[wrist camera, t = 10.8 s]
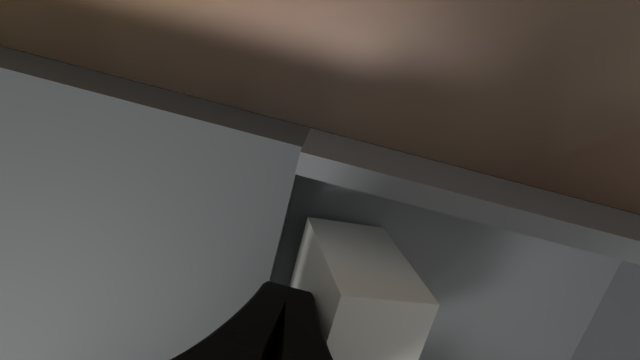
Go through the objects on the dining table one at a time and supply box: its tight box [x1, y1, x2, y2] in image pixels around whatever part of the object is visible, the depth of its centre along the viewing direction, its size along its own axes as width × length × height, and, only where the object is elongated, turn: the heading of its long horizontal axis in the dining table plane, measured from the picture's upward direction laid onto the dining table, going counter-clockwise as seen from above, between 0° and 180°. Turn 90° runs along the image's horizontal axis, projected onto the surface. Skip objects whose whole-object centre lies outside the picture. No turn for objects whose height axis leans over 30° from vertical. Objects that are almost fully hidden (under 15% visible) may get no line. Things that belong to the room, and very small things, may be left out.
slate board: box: [0, 46, 311, 360], centre depth 15 cm, size 16×12×2 cm
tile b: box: [289, 217, 440, 360], centre depth 13 cm, size 4×4×2 cm
